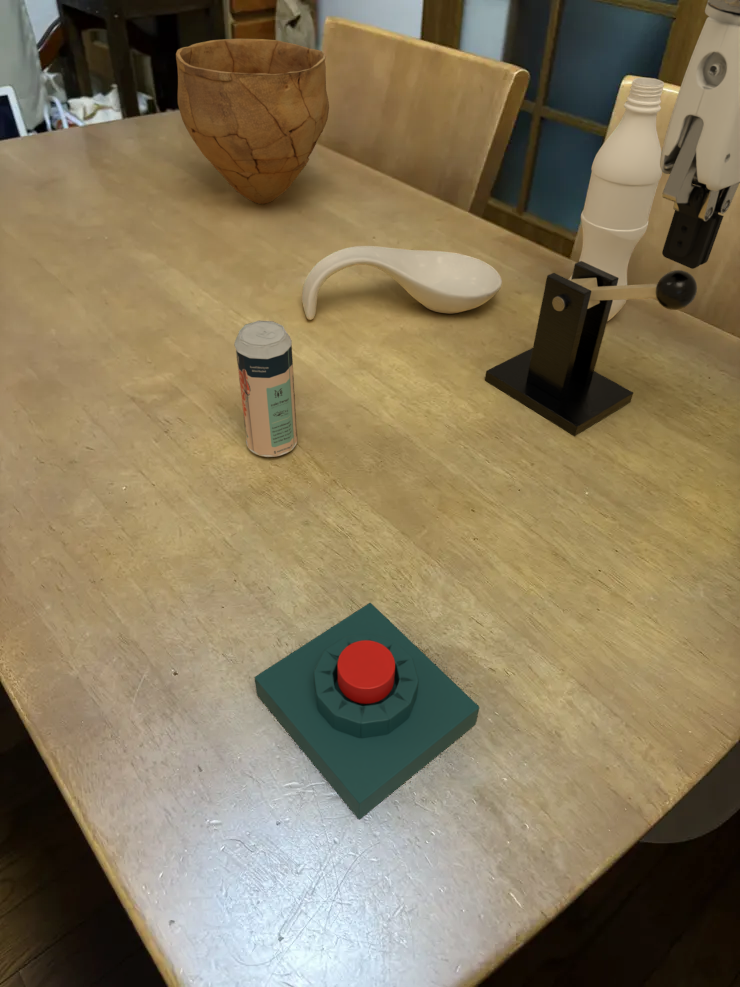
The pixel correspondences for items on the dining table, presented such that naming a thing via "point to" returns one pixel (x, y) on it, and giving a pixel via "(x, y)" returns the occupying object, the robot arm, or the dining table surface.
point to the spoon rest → (414, 276)
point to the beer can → (267, 387)
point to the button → (366, 672)
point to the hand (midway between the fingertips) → (683, 259)
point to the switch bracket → (565, 357)
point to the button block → (366, 711)
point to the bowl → (253, 109)
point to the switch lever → (647, 290)
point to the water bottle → (623, 185)
